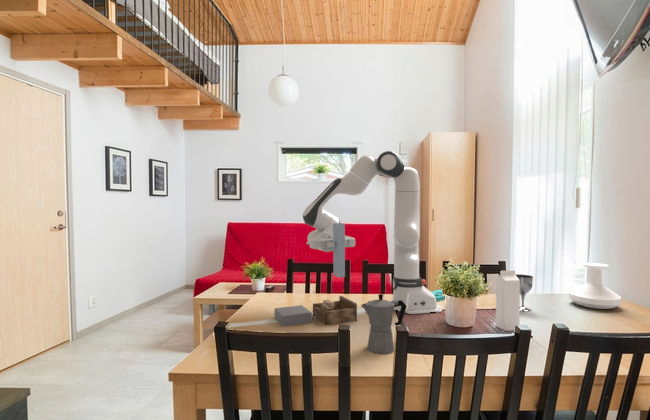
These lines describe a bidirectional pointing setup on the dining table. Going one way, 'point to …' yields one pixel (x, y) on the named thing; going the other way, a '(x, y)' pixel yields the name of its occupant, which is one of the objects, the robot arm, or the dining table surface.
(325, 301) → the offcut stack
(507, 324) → the milk
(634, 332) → the dining table surface
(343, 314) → the brown wooden box
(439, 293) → the alien figure
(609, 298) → the candle holder
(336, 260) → the panel
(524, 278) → the wine glass
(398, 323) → the coffeepot
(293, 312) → the stand
